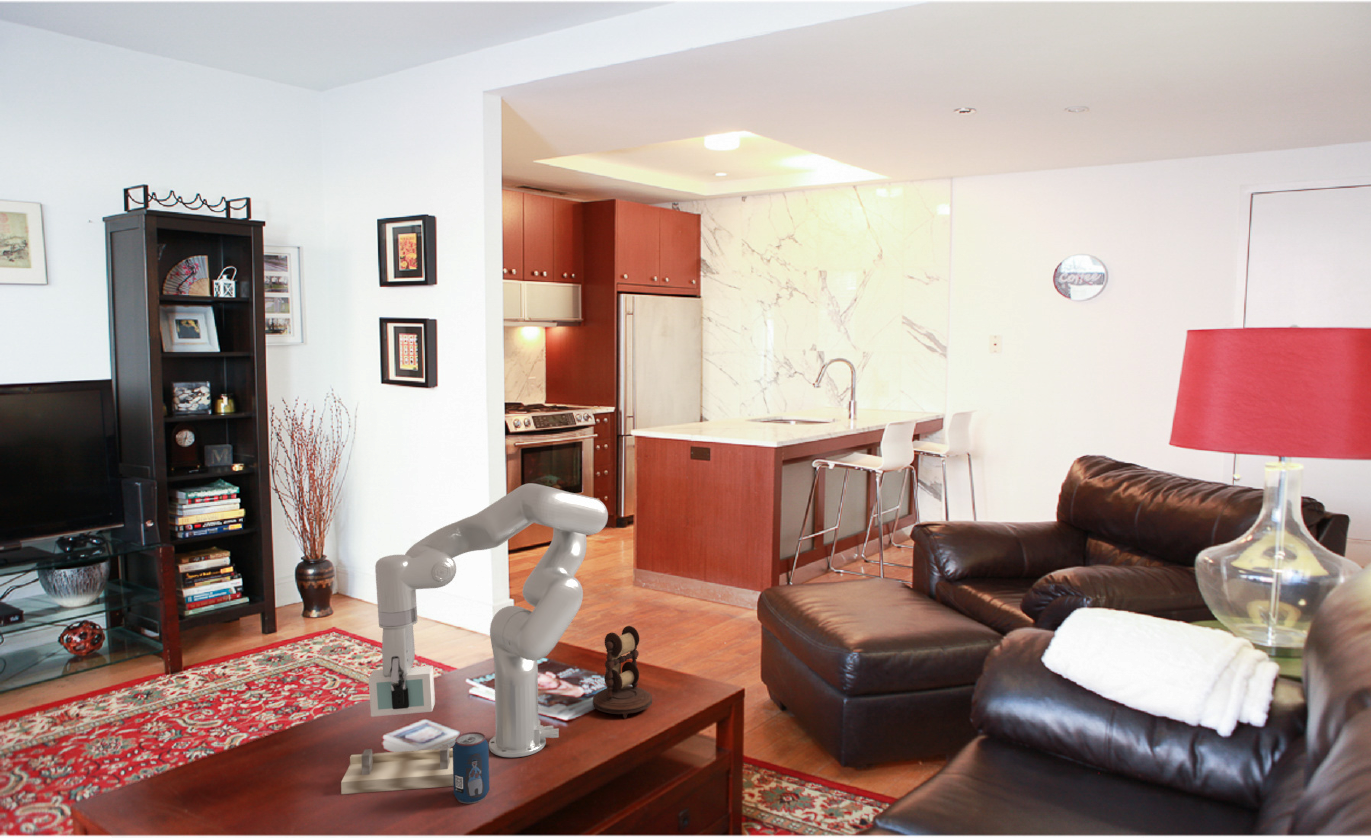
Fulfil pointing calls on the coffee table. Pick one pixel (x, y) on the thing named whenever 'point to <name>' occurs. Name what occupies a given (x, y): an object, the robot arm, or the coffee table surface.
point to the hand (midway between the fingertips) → (403, 701)
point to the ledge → (399, 770)
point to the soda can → (470, 767)
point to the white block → (418, 691)
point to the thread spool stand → (622, 676)
